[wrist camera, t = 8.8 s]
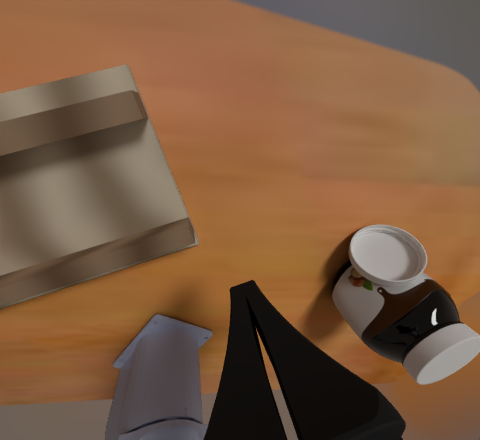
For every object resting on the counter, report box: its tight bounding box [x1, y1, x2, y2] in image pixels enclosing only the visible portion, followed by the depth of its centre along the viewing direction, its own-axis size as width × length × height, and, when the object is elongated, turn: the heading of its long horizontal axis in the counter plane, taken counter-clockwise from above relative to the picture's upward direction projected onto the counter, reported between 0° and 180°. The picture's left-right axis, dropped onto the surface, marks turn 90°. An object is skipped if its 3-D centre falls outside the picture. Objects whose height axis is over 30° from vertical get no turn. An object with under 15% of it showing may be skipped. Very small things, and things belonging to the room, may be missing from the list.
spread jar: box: [332, 225, 480, 384], centre depth 22 cm, size 12×11×12 cm
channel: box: [0, 65, 199, 309], centre depth 14 cm, size 22×14×5 cm, turn 103°
